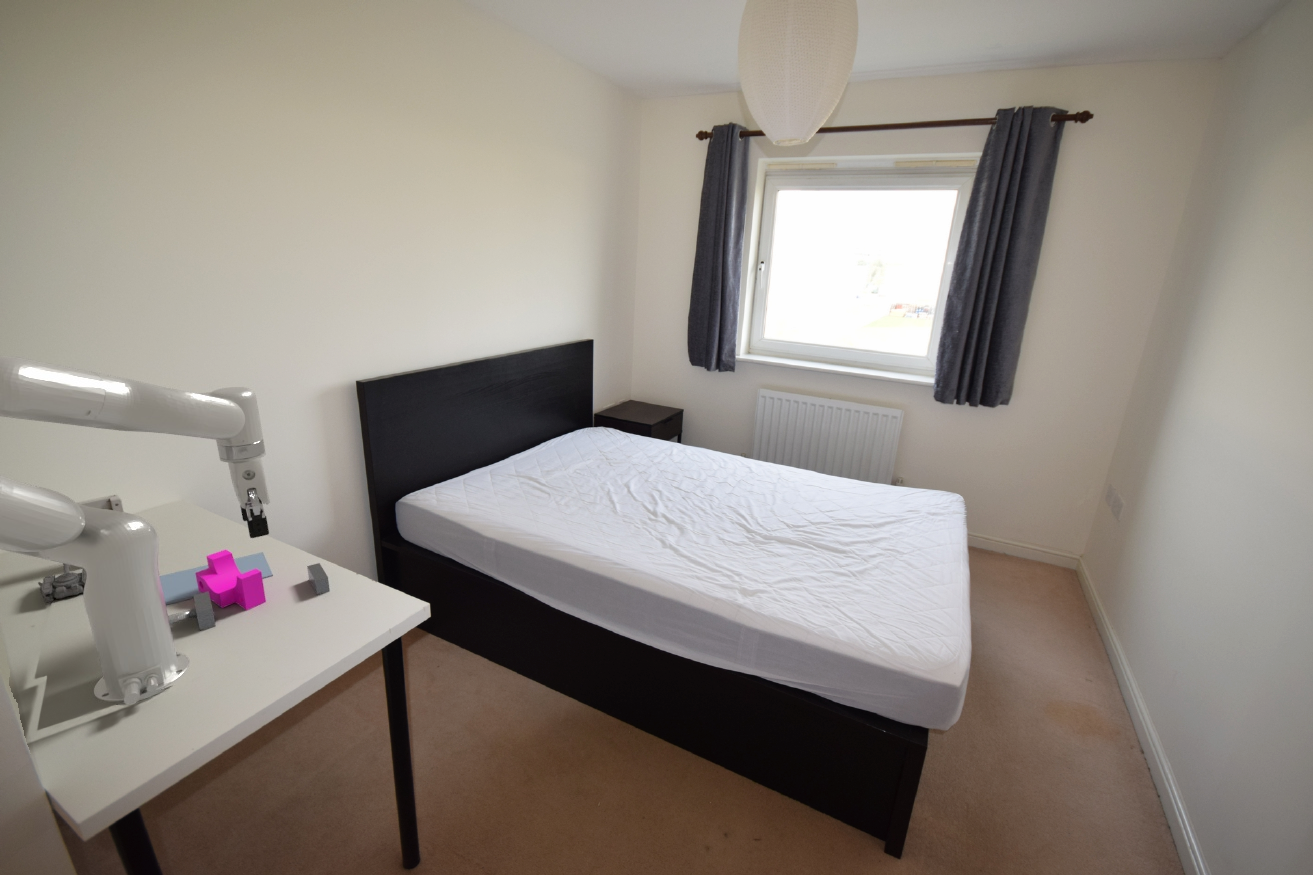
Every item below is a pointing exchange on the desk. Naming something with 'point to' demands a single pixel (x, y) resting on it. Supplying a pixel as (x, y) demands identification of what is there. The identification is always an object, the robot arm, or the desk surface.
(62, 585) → the tank toy
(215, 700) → the desk surface
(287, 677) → the desk surface
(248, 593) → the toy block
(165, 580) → the rubber mat
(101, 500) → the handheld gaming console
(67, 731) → the desk surface
